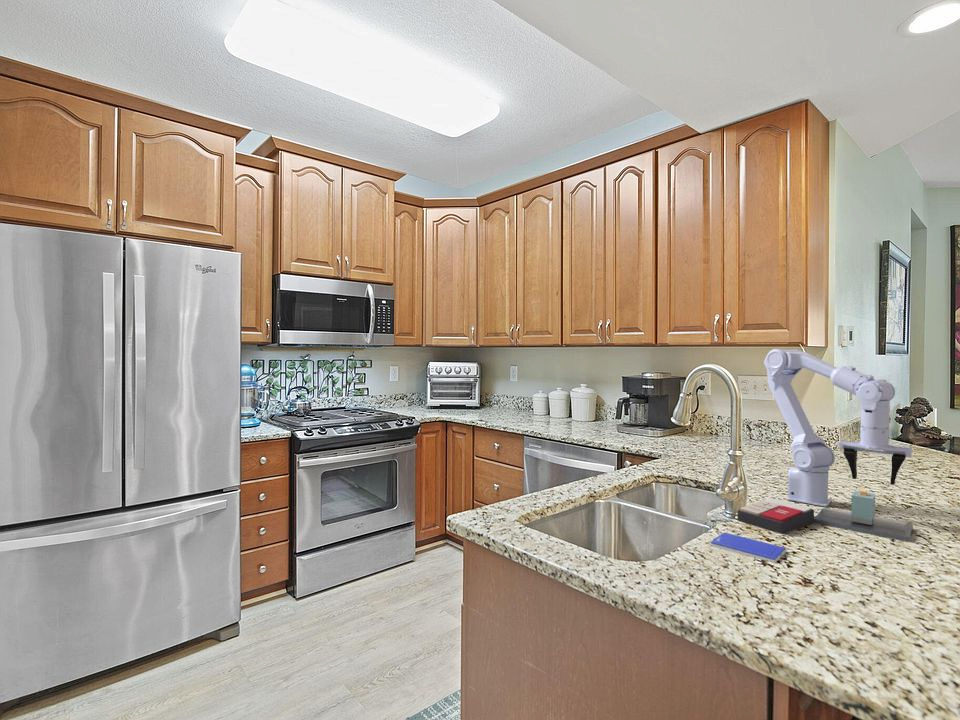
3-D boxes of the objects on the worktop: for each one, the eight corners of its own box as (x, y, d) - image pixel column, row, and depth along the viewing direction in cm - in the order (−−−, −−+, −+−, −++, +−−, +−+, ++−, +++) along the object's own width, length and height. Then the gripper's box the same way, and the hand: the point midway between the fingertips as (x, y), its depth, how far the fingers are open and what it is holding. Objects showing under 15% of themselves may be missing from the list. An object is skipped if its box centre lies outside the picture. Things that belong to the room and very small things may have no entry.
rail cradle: (813, 522, 125) (814, 512, 125) (823, 511, 134) (823, 502, 134) (909, 541, 113) (909, 530, 113) (912, 528, 122) (913, 518, 122)
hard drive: (710, 540, 110) (775, 557, 101) (724, 531, 115) (786, 546, 107) (710, 548, 110) (775, 565, 101) (724, 538, 116) (786, 554, 107)
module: (851, 521, 123) (851, 492, 123) (854, 515, 127) (855, 487, 127) (871, 525, 120) (872, 495, 120) (874, 519, 125) (875, 490, 124)
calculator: (736, 507, 126) (769, 495, 134) (736, 524, 126) (769, 511, 134) (782, 519, 117) (814, 506, 125) (782, 538, 117) (814, 523, 125)
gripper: (837, 426, 131) (835, 478, 131) (911, 432, 121) (909, 489, 121) (841, 423, 136) (840, 474, 137) (912, 429, 126) (911, 484, 127)
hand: (873, 481), depth 129 cm, fingers open, 7 cm apart
